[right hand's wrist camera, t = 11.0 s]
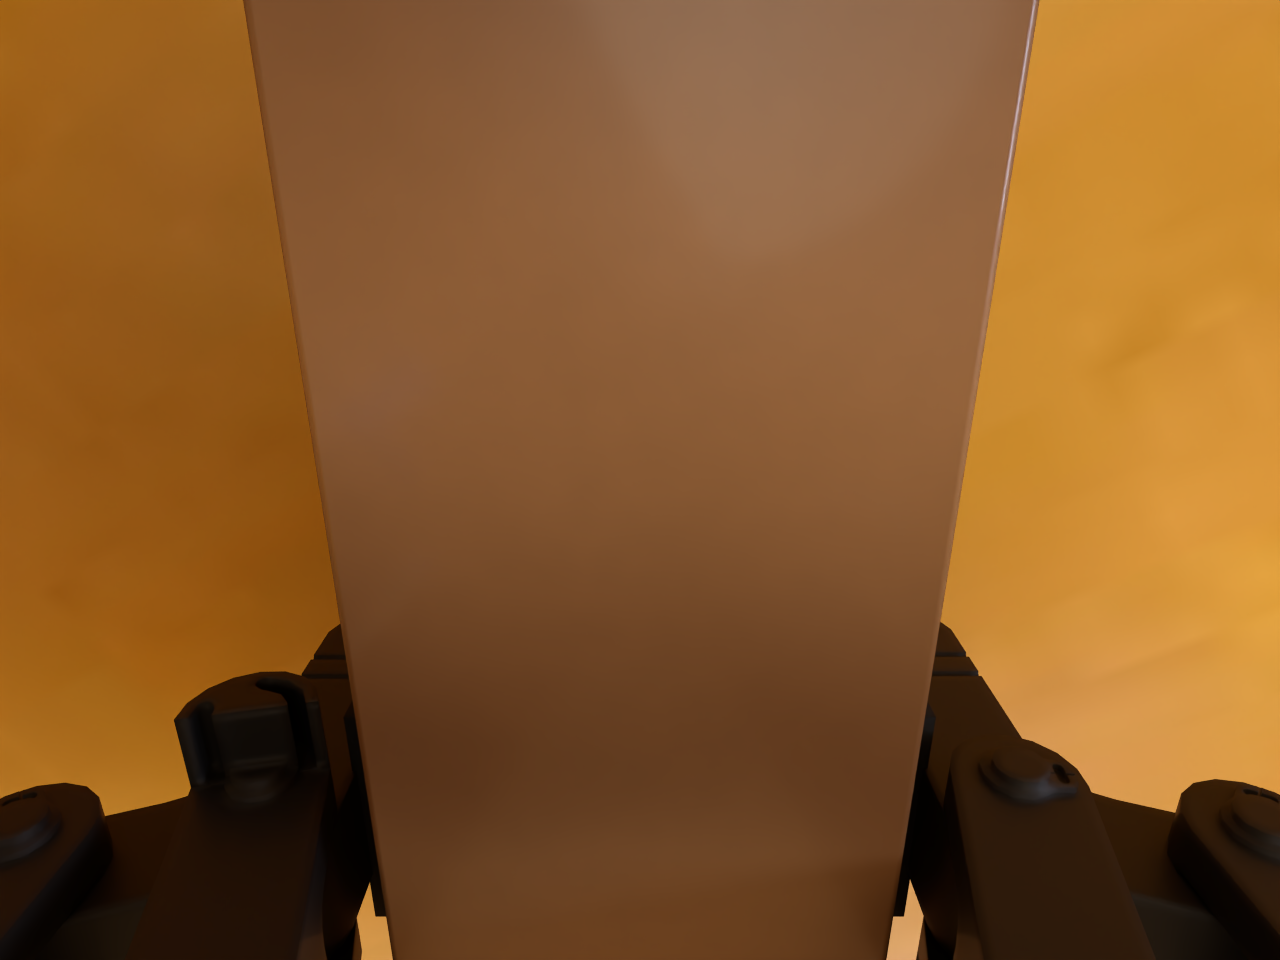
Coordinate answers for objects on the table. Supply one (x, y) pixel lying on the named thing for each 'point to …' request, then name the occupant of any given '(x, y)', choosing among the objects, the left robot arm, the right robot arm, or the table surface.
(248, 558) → the table surface
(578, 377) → the beam
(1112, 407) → the table surface
